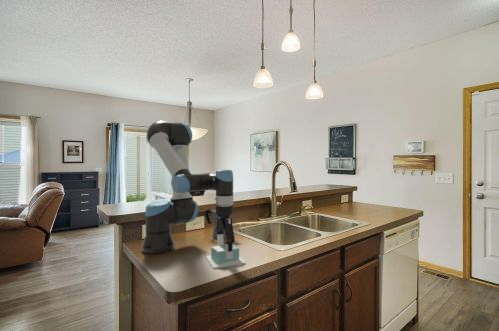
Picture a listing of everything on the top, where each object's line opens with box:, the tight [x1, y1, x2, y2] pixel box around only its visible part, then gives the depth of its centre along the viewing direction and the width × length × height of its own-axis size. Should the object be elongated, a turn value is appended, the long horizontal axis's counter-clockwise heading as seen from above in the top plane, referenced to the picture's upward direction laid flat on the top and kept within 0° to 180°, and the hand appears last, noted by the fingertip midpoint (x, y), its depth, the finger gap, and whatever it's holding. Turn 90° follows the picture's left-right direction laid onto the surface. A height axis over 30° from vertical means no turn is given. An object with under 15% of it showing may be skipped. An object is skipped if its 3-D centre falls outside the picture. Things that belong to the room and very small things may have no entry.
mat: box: [205, 254, 246, 270], centre depth 117 cm, size 14×14×1 cm
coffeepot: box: [204, 208, 226, 240], centre depth 153 cm, size 15×9×18 cm, turn 82°
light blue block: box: [210, 244, 240, 264], centre depth 117 cm, size 10×8×5 cm
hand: (224, 253), depth 117 cm, fingers open, 13 cm apart
